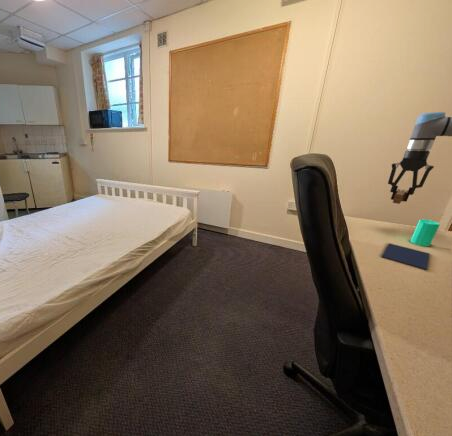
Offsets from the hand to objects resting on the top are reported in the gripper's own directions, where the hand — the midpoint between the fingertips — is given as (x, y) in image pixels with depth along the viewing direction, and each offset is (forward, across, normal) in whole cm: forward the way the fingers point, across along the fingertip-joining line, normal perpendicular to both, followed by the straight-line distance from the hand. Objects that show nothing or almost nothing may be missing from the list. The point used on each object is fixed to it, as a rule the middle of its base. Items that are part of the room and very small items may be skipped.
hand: (398, 199), depth 107 cm
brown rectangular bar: (0, 0, 0) cm, 0 cm away
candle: (+17, -12, +7) cm, 22 cm away
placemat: (+17, -9, +28) cm, 34 cm away
